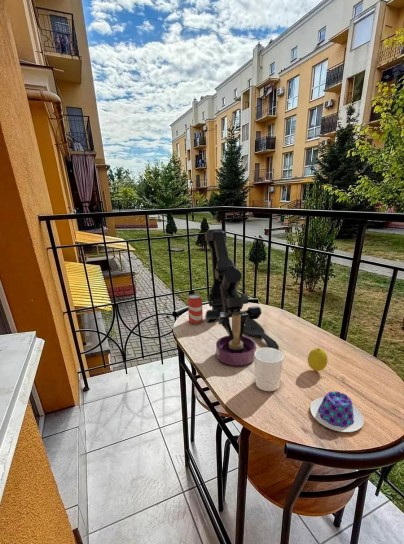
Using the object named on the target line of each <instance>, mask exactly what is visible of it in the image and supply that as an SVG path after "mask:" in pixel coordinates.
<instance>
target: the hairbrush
mask: <svg viewBox="0 0 404 544" xmlns="http://www.w3.org/2000/svg"><path fill="white" fill-rule="evenodd" d="M243 334H244V335H247V336H249V337H256V338H257V337H261V338H262V339H263V340H264V342H265V343H266V345H267V348H274V349H277V350H279V351H280V346H279V344H278V343H277V341H276V340H275V339H273V338H272V337H270V336H269V335H268V334H267V333H265V329H264V327H263V326H262V325H260V323H259V322H257V320H256V319H251V320H249V319H248V320H247V322H245V324H244V330H243Z"/></svg>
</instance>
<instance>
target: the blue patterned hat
mask: <svg viewBox="0 0 404 544" xmlns="http://www.w3.org/2000/svg"><path fill="white" fill-rule="evenodd" d="M309 410H310V414H311V415H312V417H313V418H314V419H315V420H316V421H317V422H318V423H319V424H320V425H322V426H324V427H325V428H328V429H330V430H333V431H337V432H340V433H353V432H356V431H359V430H360V429H361V428H362V427H363V426H364V423H365V420H364V416H363V414H362V412H361V411H360V410H359V409H358V408H357V407H356V406H355V405H353V401H352V399H351V398H350V397H348V395H347V394H346V393H343V392H340V391H328V392H327V393H326V394H325V395H324V396H322V397H320V396H319V397H318V398H316V399H314V400H313V401H311V403H310V406H309Z"/></svg>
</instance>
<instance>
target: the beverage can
mask: <svg viewBox="0 0 404 544" xmlns="http://www.w3.org/2000/svg"><path fill="white" fill-rule="evenodd" d="M187 313H188V322H189V323H191V324H195V325H196V324H197V325H198V324H200V323H202V322H203V321H204V317H203V315H204V314H203V313H204V312H203V298H202V297H201V294H196V293H193V294H189V295H188V298H187Z"/></svg>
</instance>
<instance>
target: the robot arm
mask: <svg viewBox="0 0 404 544" xmlns="http://www.w3.org/2000/svg"><path fill="white" fill-rule="evenodd" d="M204 240H205V241H206V246H207V247H208V248H209V250H210V255H211V256H210V257H211V258H210V259H211V270H212V285H211V287H210V289H209V293H208V298H207V302H208V306H209V307H210V308H211V309H209V310H206V312H205V316H204V318H205V323H206V324H214V323H216V322H217V321H218V325H221V326H222V327H223V329H224V330H225V332H226V333H227V334H228V335H229V336H230V338H231V339H233V334H232V325H231V321H230V318H232V314H234V313H238V314H240V315H241V320H240V338H242V337H243V336H244V332H243V330H244V324H245V322H247V320H248V319H249V320H251V319H253V320H258V319H259V318H260V316H261V315H262V309H261V307H260V306H259V305H256V306H248V308H247V309H246V310H243V307H244V305H245V304H246V305H247V304H249V297H248V293H242V294H240V296H239V294H238V287H239V285H240V283H241V279H242V277H243V276H242V275H243V273H242V272H241V270H239V269H238V268H237V267H236V266H235V263H234V261H233V260H232V259H231V258H230V256H229V252H228V247H227V242H226V241H227V231H226V230H223V229H222V228H211V229H207V231H205V232H204Z"/></svg>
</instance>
